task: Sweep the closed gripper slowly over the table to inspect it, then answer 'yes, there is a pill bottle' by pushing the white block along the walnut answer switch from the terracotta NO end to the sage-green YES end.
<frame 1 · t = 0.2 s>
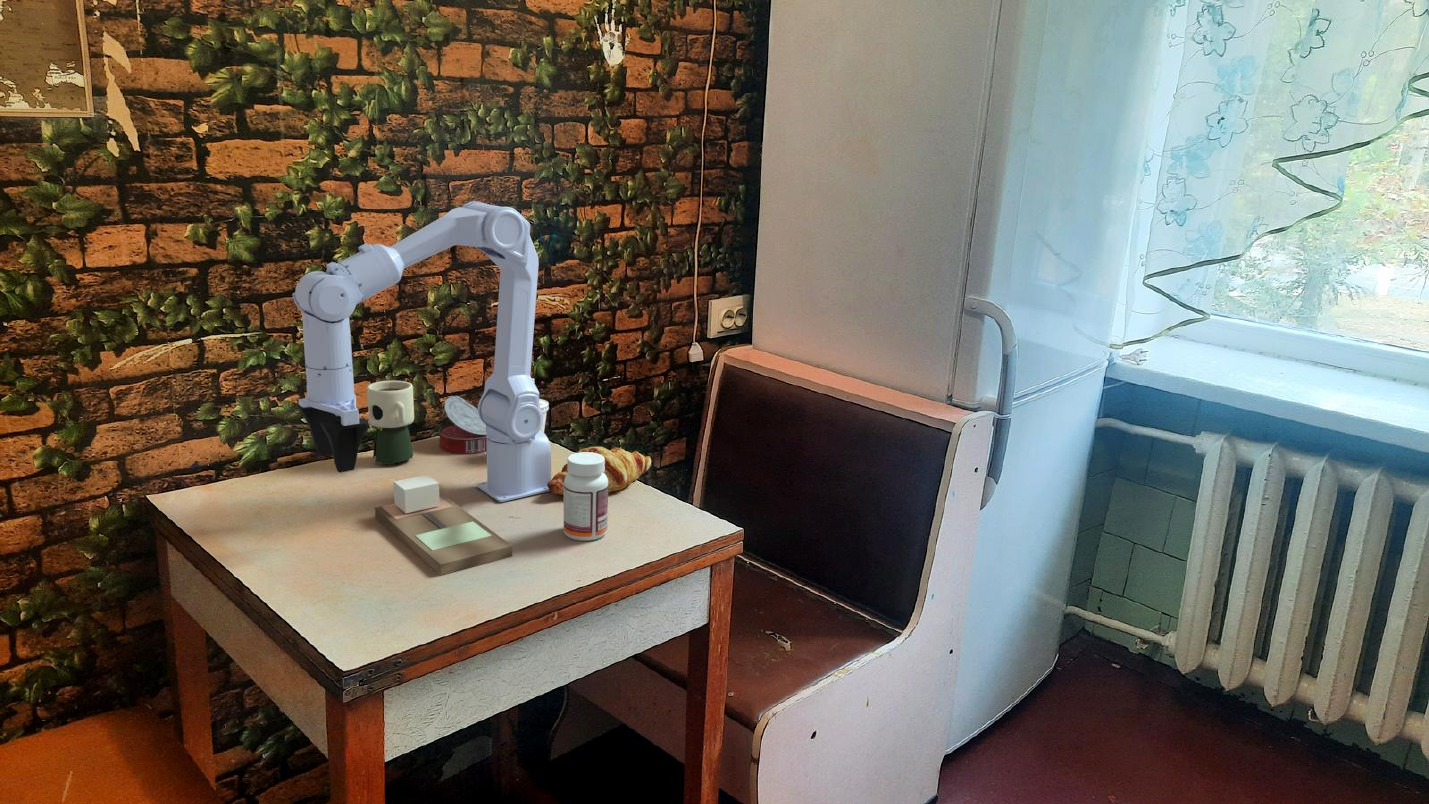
hand: (336, 462, 128), 10 cm above the table, fingers open, 7 cm apart
pill bottle: (585, 534, 134), on the table
lidded paper cup: (529, 457, 163), on the table
white block: (416, 493, 135), point 4 cm above the table, slide at 0.0 cm
answer switch: (441, 535, 130), on the table
croissant: (603, 487, 152), on the table
character mug: (393, 462, 158), on the table
canned food: (468, 447, 167), on the table
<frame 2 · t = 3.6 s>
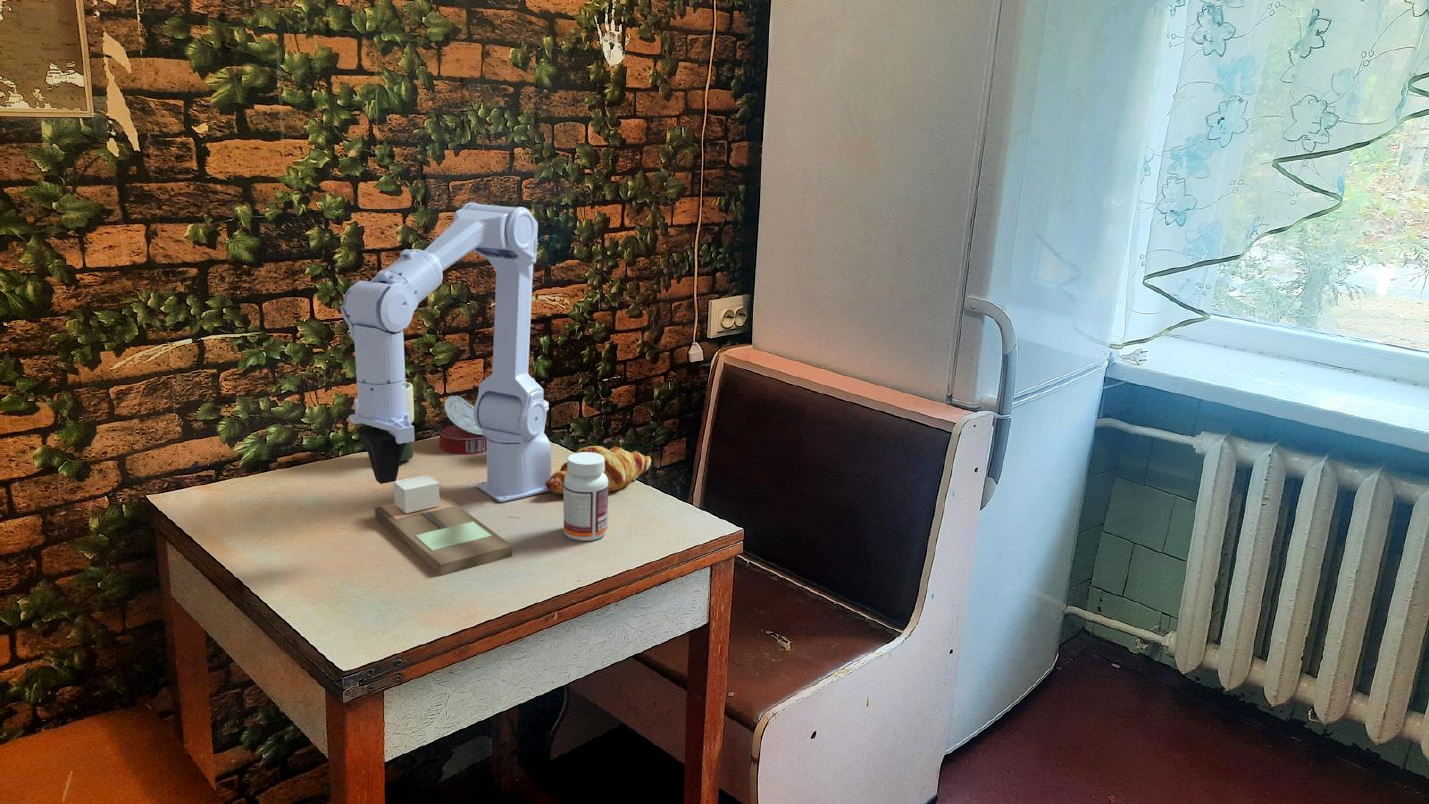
hand: (386, 481, 121), 10 cm above the table, fingers closed
nothing on the table moved.
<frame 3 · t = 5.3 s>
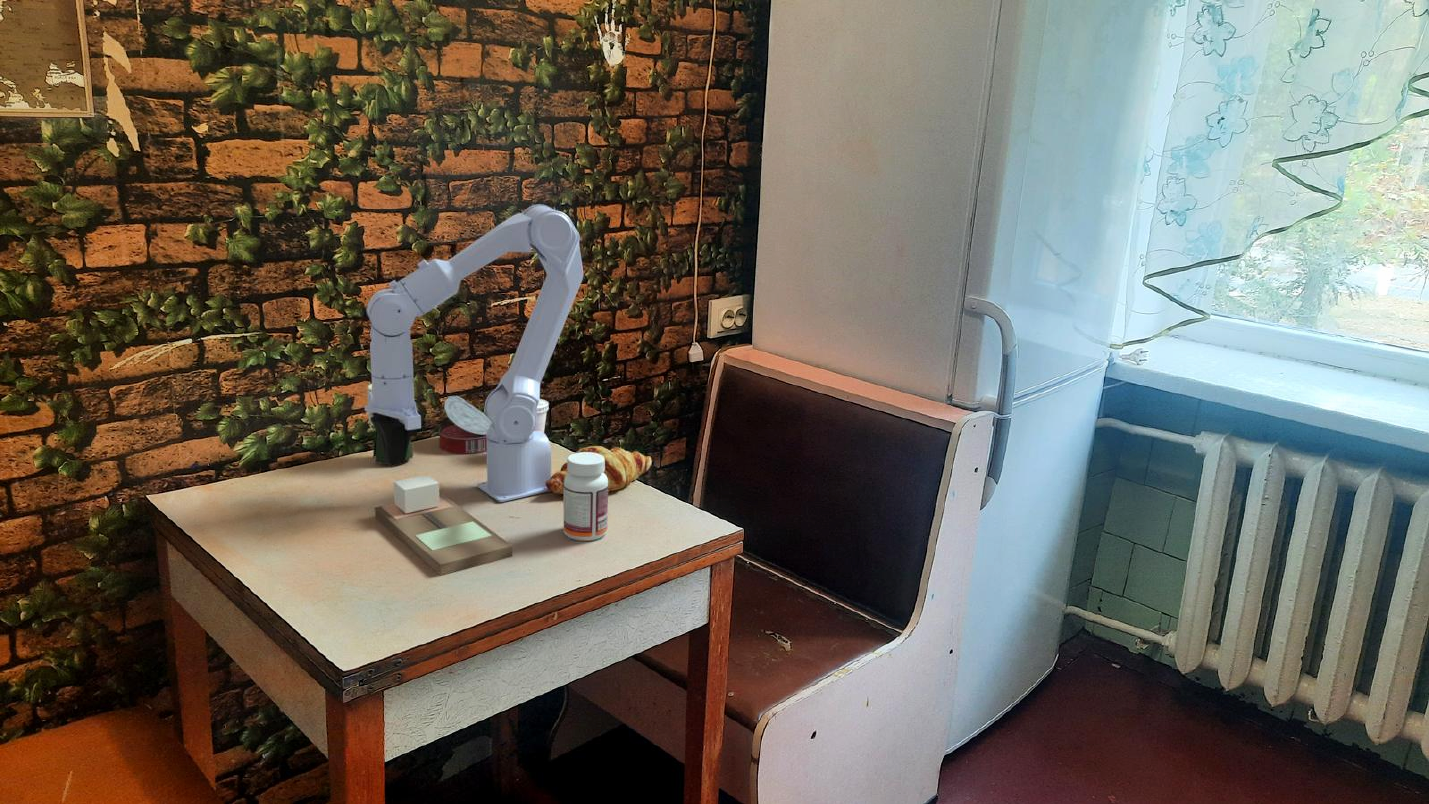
hand: (396, 463, 140), 6 cm above the table, fingers closed
nothing on the table moved.
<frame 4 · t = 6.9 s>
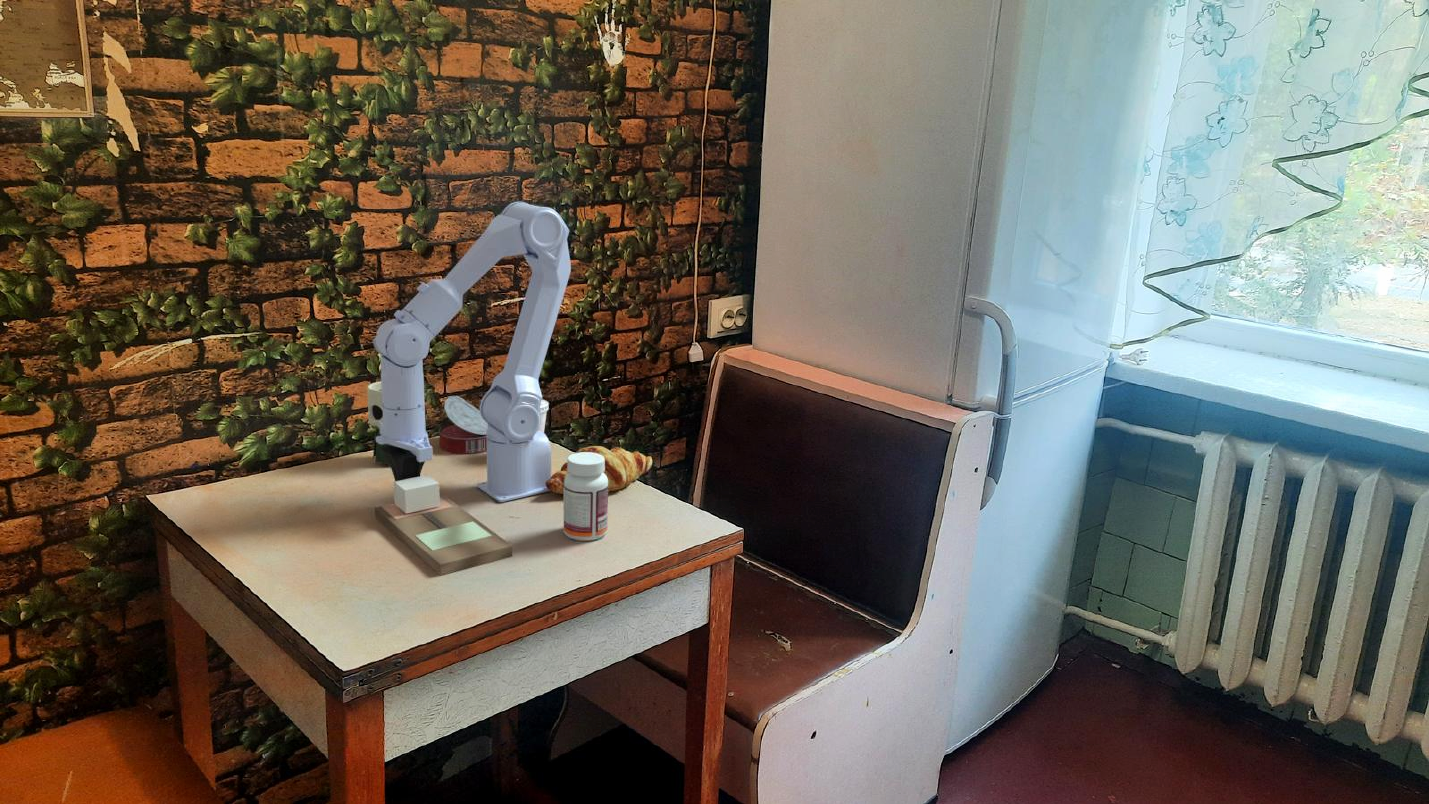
hand: (407, 493, 138), 2 cm above the table, fingers closed
white block: (416, 493, 135), point 4 cm above the table, slide at 0.1 cm, touching gripper
everything else where it was.
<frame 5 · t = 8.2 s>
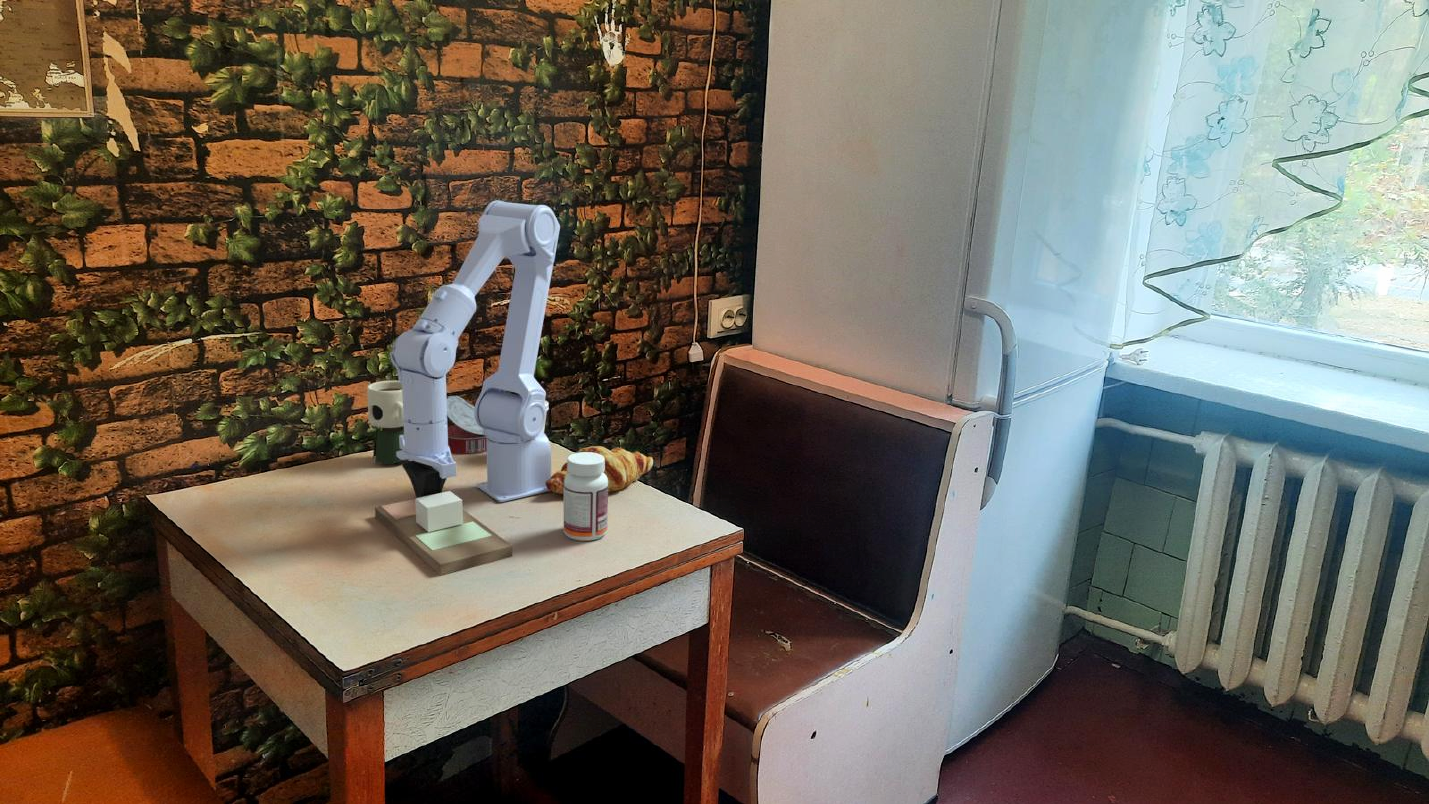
hand: (428, 510, 133), 2 cm above the table, fingers closed
white block: (439, 511, 130), point 4 cm above the table, slide at 7.6 cm, touching gripper
everything else where it was.
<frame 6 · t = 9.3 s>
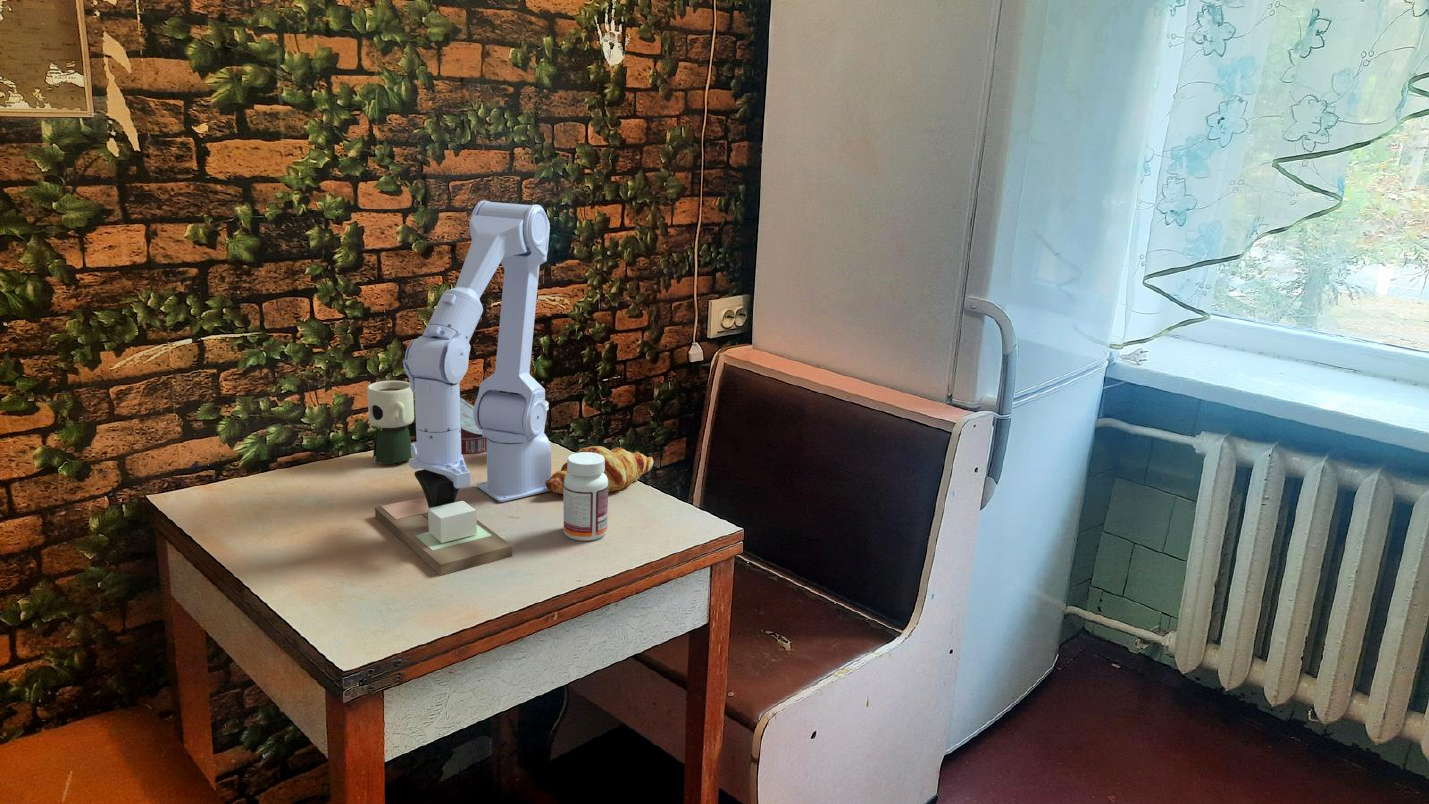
hand: (441, 520, 129), 2 cm above the table, fingers closed
white block: (452, 521, 127), point 4 cm above the table, slide at 11.8 cm, touching gripper
croissant: (602, 486, 152), on the table, touching arm
everything else where it was.
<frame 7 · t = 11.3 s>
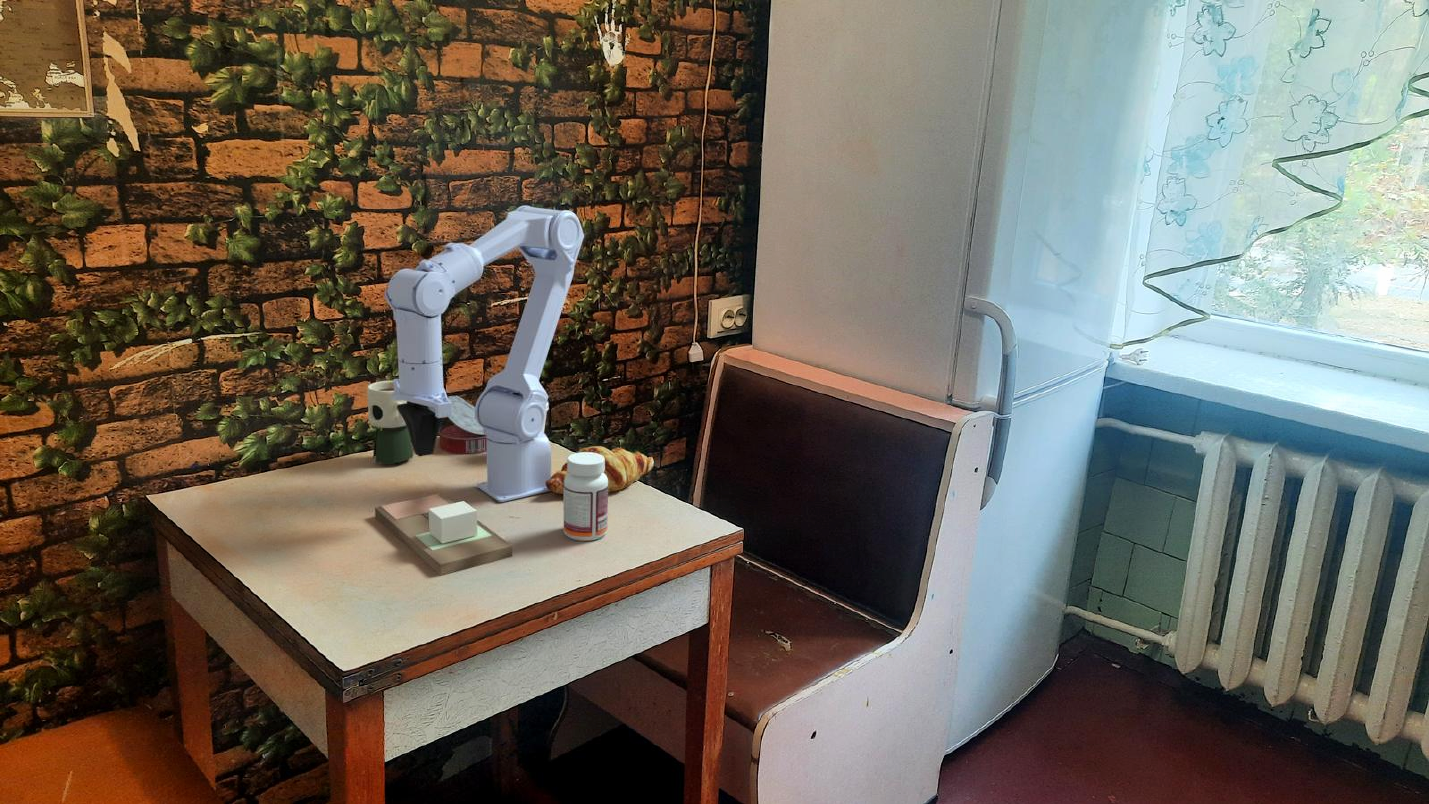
hand: (424, 453, 131), 10 cm above the table, fingers closed
white block: (453, 521, 126), point 4 cm above the table, slide at 12.0 cm
croissant: (603, 487, 152), on the table
everything else where it was.
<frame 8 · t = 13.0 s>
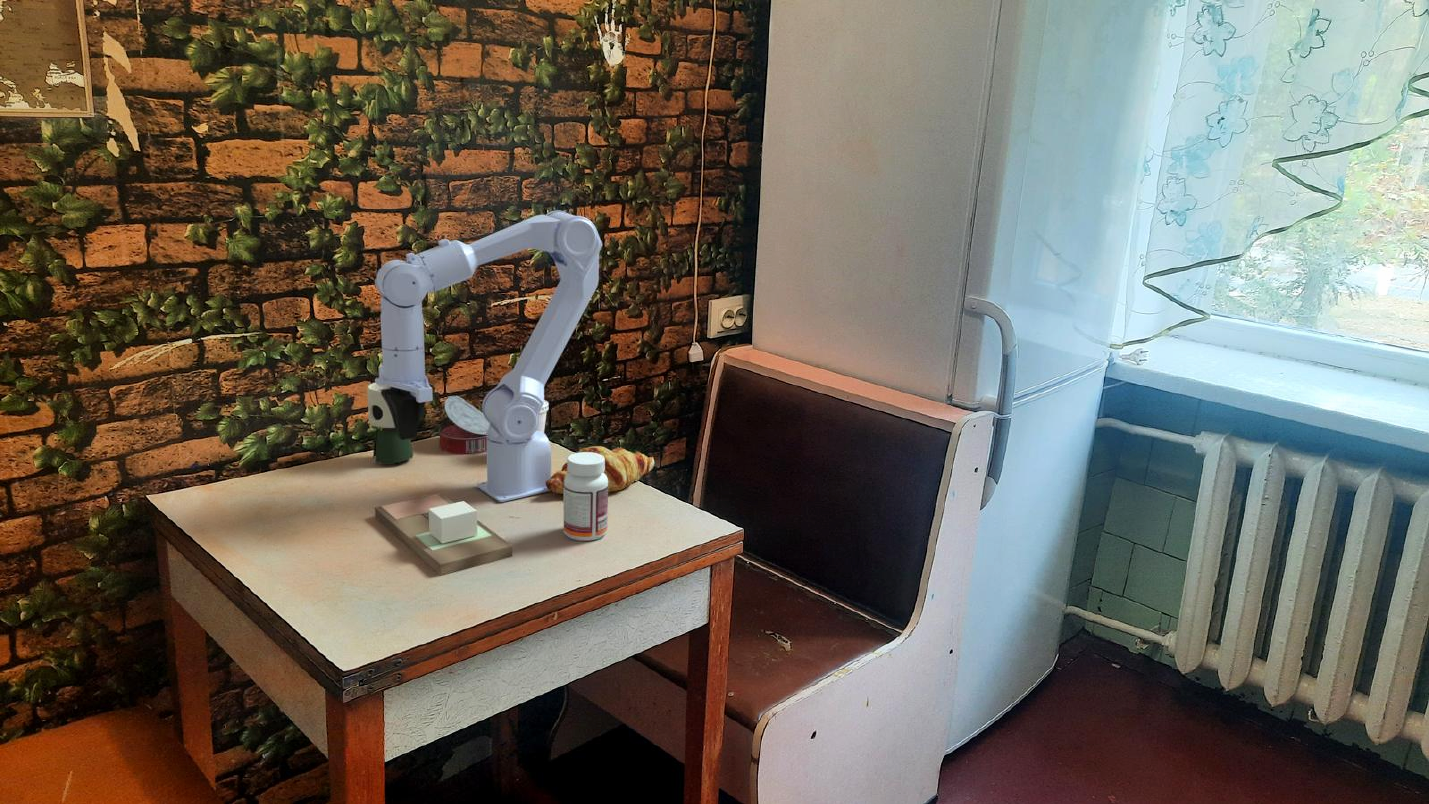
hand: (406, 437, 138), 10 cm above the table, fingers closed
nothing on the table moved.
at the end: white block slide at 12.0 cm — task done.
